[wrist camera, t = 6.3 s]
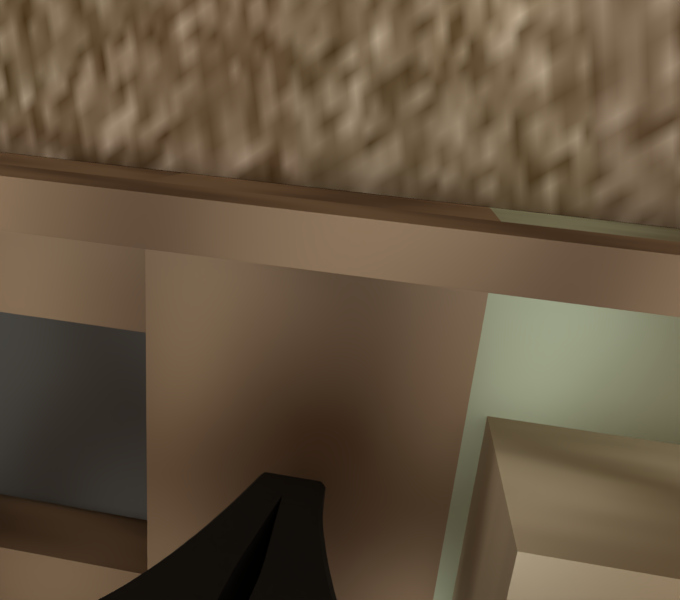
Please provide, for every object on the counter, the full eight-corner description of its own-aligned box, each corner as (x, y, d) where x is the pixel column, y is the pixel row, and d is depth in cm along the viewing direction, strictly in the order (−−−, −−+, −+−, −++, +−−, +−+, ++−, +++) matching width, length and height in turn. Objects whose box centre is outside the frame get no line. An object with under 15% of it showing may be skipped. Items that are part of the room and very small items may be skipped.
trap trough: (-234, 532, 19) (-376, 620, 15) (-337, 114, 15) (-557, 110, 11) (665, 707, 16) (730, 863, 12) (831, 245, 12) (990, 291, 9)
